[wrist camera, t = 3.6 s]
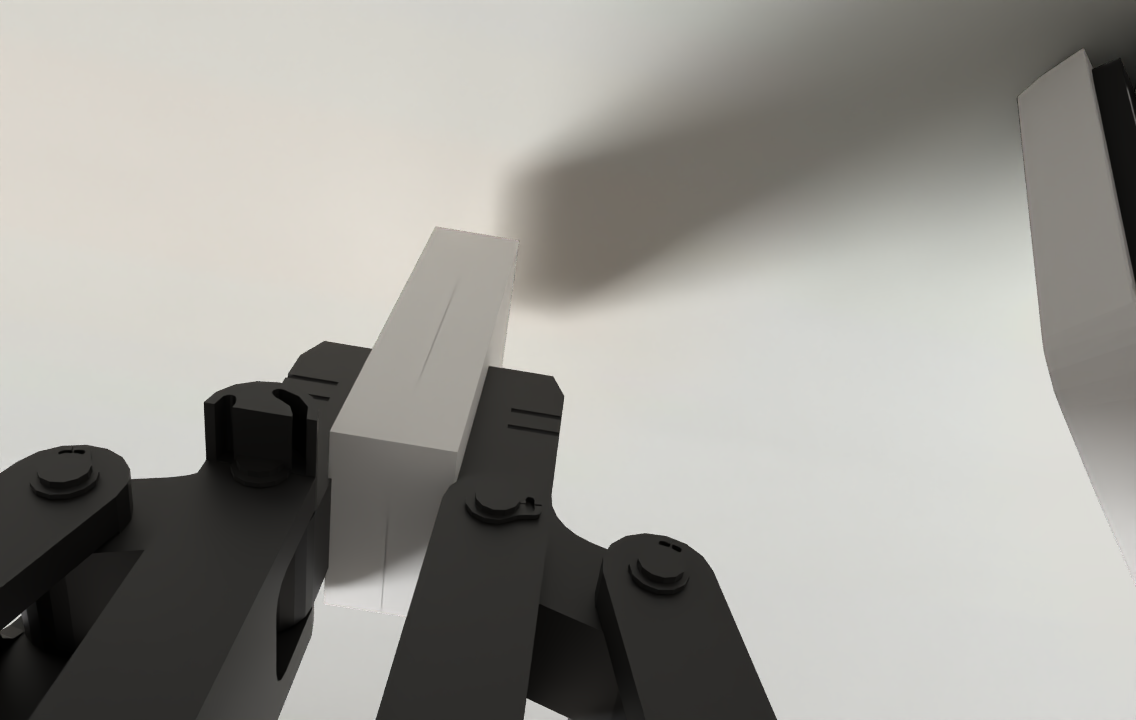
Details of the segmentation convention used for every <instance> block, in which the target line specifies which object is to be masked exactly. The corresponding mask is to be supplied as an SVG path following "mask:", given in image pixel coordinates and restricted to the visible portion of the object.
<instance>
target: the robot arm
mask: <svg viewBox="0 0 1136 720" xmlns="http://www.w3.org/2000/svg"><path fill="white" fill-rule="evenodd" d="M518 247H519V240H513V239H507V238H501V237H495V236H489V235H483V234H477V233H471V232H466V231H460V230H454V229H448V228H442V227H435V228H434V230H433V232H432V234H431V236H430V238H429V240H428V242H427V244H426V246H425V248H424V250H423V252H422V254H421V256H420V258H419V259H418V261H417V263H416V265H415V267H414V269H413V271H412V273H411V275H410V277H409V279H408V281H407V283H406V285H405V287H404V288H403V290H402V292H401V294H400V296H399V298H398V300H397V302H396V304H395V306H394V308H393V310H392V312H391V314H390V316H389V318H388V319H387V321H386V323H385V325H384V327H383V329H382V331H381V333H380V335H379V337H378V339H377V341H376V343H375V345H374V347H373V349H370V348H363V347H357V346H351V345H345V344H339V343H333V342H327V341H324V342H322V343H320V344H319V345H317V346H315V347H313V348H312V349H310V350H308V351H307V352H305V353H303V354H301V355H300V356H299V358H298V359H297V361H296V363H295V364H294V366H293V367H292V369H291V370H290V372H289V373H288V378H285V379H284V381H283V383H278V382H260V381H256V382H249V383H242V384H235V385H233V386H230V387H227V388H225V389H222V390H220V391H217V392H216V393H214V394H213V395H212V396H211V397H210V398H208V399H207V400H206V401H205V402H204V418H205V441H206V461H205V463H204V464H203V466H202V467H201V469H200V470H199V471H198V473H195V474H191V475H187V476H178V477H169V478H148V479H131V475H130V468H129V467H128V465H127V464H126V462H125V460H124V459H123V457H121V456H119V455H118V454H116V453H114V452H112V451H110V450H108V449H105V448H100V447H94V446H89V445H74V446H60V447H56V448H52V449H47V450H43V451H39V452H37V453H35V454H32V455H30V456H28V457H26V458H24V459H22V460H20V461H18V462H16V463H15V464H13V465H12V466H10V467H9V468H7V469H6V470H4V471H3V472H1V473H0V720H278V717H279V715H280V712H281V710H282V707H283V705H284V702H285V700H286V698H287V695H288V693H289V690H290V688H291V685H292V683H293V680H294V678H295V675H296V673H297V670H298V668H299V665H300V663H301V660H302V658H303V655H304V653H305V650H306V648H307V645H308V643H309V641H310V638H311V636H312V629H313V621H314V601H315V599H316V596H317V594H318V592H319V589H320V587H321V584H322V582H323V580H324V577H325V585H324V604H326V605H333V606H339V607H345V608H351V609H358V610H364V611H370V612H376V613H383V614H389V615H395V616H401V617H406V620H405V624H404V627H403V630H402V634H401V637H400V640H399V644H398V647H397V650H396V654H395V657H394V660H393V664H392V667H391V670H390V674H389V677H388V680H387V684H386V687H385V690H384V694H383V697H382V700H381V704H380V707H379V710H378V714H377V717H376V720H524V713H525V705H526V698H527V699H530V700H532V701H534V702H536V703H538V704H540V705H542V706H544V707H547V708H549V709H551V710H553V711H555V712H557V713H559V714H561V715H564V716H566V717H568V720H777V719H776V716H775V714H774V712H773V709H772V707H771V705H770V702H769V700H768V698H767V695H766V693H765V691H764V688H763V686H762V684H761V681H760V679H759V677H758V674H757V672H756V670H755V667H754V665H753V663H752V660H751V658H750V656H749V653H748V651H747V649H746V646H745V644H744V642H743V639H742V637H741V635H740V632H739V630H738V628H737V625H736V623H735V621H734V618H733V616H732V614H731V611H730V609H729V607H728V604H727V602H726V600H725V597H724V595H723V593H722V590H721V588H720V586H719V583H718V581H717V579H716V576H715V574H714V572H713V570H712V569H711V567H710V566H709V564H708V563H707V562H706V560H705V559H704V557H703V556H702V555H700V554H699V553H698V552H696V551H695V550H694V549H692V548H691V547H690V546H688V545H687V544H685V543H682V542H680V541H677V540H675V539H672V538H670V537H667V536H662V535H654V534H647V533H644V534H637V535H630V536H625V537H623V538H621V539H620V540H618V541H616V542H614V543H612V544H611V545H610V547H609V548H608V549H605V548H603V547H600V546H598V545H595V544H593V543H591V542H589V541H587V540H585V539H583V538H581V537H579V536H577V535H576V534H574V533H573V532H572V531H571V530H569V529H568V528H567V527H565V526H564V524H563V523H562V522H561V521H560V520H559V518H558V517H557V516H556V513H555V511H554V509H553V507H552V497H551V494H552V487H553V479H554V471H555V464H556V456H557V448H558V441H559V433H560V425H561V417H562V410H563V402H564V395H563V393H562V391H561V389H560V388H559V386H558V384H557V382H556V381H555V379H554V377H553V376H548V375H541V374H535V373H529V372H523V371H517V370H511V369H505V368H502V364H503V356H504V349H505V342H506V334H507V327H508V320H509V312H510V305H511V298H512V291H513V283H514V276H515V269H516V261H517V254H518ZM20 614H21V615H22V616H20V617H19V618H18V619H17V620H16V621H15V622H13V623H12V624H11V625H10V626H8V627H6V628H4V627H5V626H7V625H8V624H9V623H10V622H11V621H13V620H14V619H15V618H16V617H17V616H18V615H20ZM3 628H4V629H3ZM2 629H3V630H2Z"/></svg>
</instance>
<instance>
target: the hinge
mask: <svg viewBox="0 0 1136 720" xmlns="http://www.w3.org/2000/svg"><path fill="white" fill-rule="evenodd" d="M1017 103H1018V113H1019V122H1020V132H1021V141H1022V151H1023V161H1024V170H1025V180H1026V189H1027V199H1028V209H1029V218H1030V228H1031V237H1032V247H1033V256H1034V266H1035V276H1036V285H1037V295H1038V304H1039V314H1040V324H1041V333H1042V342H1043V349H1044V355H1045V358H1046V362H1047V366H1048V370H1049V374H1050V378H1051V382H1052V385H1053V389H1054V392H1055V395H1056V398H1057V400H1058V403H1059V405H1060V408H1061V411H1062V413H1063V415H1064V418H1065V420H1066V423H1067V425H1068V428H1069V430H1070V433H1071V435H1072V437H1073V440H1074V442H1075V445H1076V447H1077V450H1078V452H1079V455H1080V457H1081V459H1082V462H1083V464H1084V467H1085V469H1086V472H1087V474H1088V477H1089V479H1090V481H1091V484H1092V486H1093V489H1094V491H1095V494H1096V496H1097V498H1098V501H1099V503H1100V505H1101V508H1102V510H1103V512H1104V515H1105V517H1106V519H1107V522H1108V524H1109V526H1110V528H1111V531H1112V533H1113V535H1114V538H1115V540H1116V542H1117V545H1118V547H1119V549H1120V552H1121V554H1122V556H1123V559H1124V561H1125V563H1126V565H1127V568H1128V570H1129V572H1130V575H1131V577H1132V579H1133V582H1134V584H1135V586H1136V94H1135V92H1134V90H1133V87H1132V85H1131V83H1130V80H1129V78H1128V75H1127V73H1126V71H1125V68H1124V66H1123V64H1122V61H1121V59H1120V58H1118V59H1116V60H1113V61H1111V62H1108V63H1106V64H1104V65H1101V66H1099V67H1097V68H1094V69H1093V67H1092V65H1091V63H1090V60H1089V58H1088V56H1087V54H1086V51H1085V49H1083V48H1082V49H1081V50H1079V51H1078V52H1076V53H1075V54H1073V55H1072V56H1070V57H1069V58H1067V59H1066V60H1064V61H1063V62H1061V63H1060V64H1058V65H1057V66H1055V67H1054V68H1052V69H1051V70H1049V71H1048V72H1046V73H1045V74H1043V75H1042V76H1041V77H1039V78H1038V79H1037V80H1036V81H1035V82H1034V83H1033V84H1031V85H1030V86H1029V87H1028V88H1027V89H1026V90H1025V91H1024V92H1022V93H1021V94H1020V95H1019V96H1018V97H1017Z"/></svg>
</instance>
